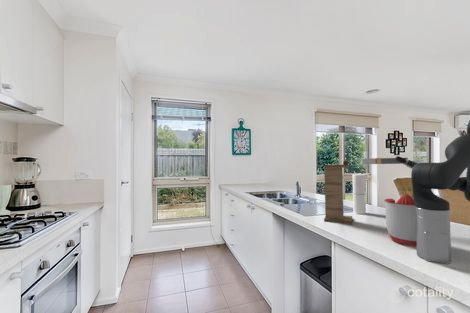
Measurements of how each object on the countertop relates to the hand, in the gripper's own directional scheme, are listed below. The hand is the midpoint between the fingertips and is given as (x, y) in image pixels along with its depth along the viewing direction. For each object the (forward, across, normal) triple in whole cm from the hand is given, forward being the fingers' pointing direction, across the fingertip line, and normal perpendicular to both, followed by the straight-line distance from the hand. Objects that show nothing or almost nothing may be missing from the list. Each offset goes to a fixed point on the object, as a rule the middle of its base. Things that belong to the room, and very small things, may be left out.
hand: (396, 157), depth 119 cm
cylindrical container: (-2, -25, +40) cm, 47 cm away
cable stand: (+7, 0, +45) cm, 45 cm away
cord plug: (+3, 0, +5) cm, 6 cm away
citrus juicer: (-17, +25, +31) cm, 44 cm away
